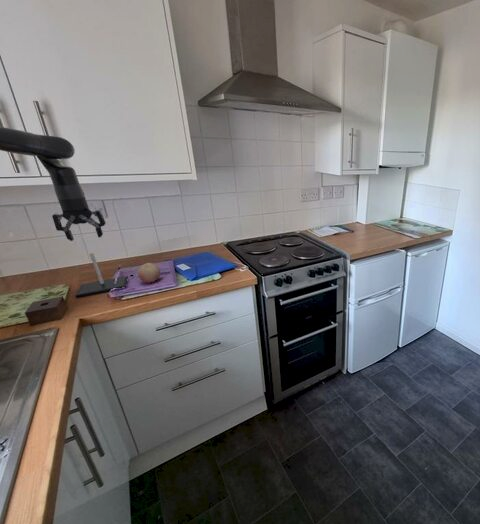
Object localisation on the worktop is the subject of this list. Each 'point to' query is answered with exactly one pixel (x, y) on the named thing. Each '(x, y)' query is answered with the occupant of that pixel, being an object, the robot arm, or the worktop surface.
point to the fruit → (149, 272)
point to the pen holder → (46, 310)
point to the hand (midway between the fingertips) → (86, 238)
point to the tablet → (100, 287)
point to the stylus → (97, 268)
